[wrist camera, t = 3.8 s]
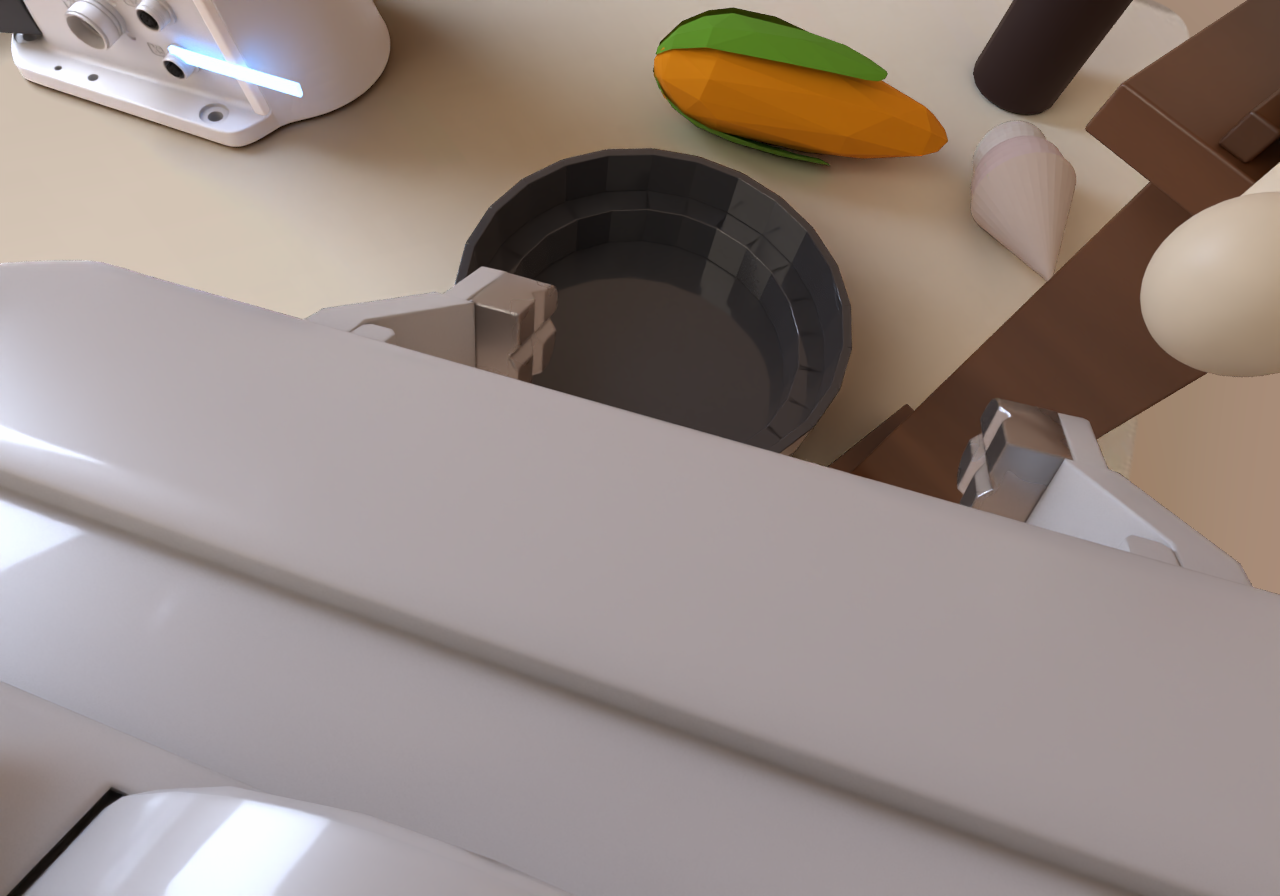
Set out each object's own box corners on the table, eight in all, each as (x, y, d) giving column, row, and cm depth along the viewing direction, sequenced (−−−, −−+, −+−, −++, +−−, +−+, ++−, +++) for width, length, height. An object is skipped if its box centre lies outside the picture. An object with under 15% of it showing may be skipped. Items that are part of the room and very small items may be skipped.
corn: (678, -43, 44) (985, 44, 44) (662, 62, 51) (927, 136, 51) (649, 38, 41) (976, 130, 41) (637, 137, 48) (916, 215, 49)
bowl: (431, 493, 36) (410, 445, 31) (504, 199, 44) (498, 120, 39) (811, 547, 37) (856, 509, 32) (812, 251, 46) (848, 181, 40)
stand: (870, 626, 36) (1546, 333, 12) (765, 507, 38) (1152, 45, 14) (990, 513, 39) (1702, 106, 15) (888, 409, 41) (1371, -97, 17)
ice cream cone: (1002, 334, 44) (965, 189, 53) (1116, 303, 42) (1057, 155, 50) (984, 265, 40) (947, 121, 49) (1109, 226, 37) (1046, 79, 46)
